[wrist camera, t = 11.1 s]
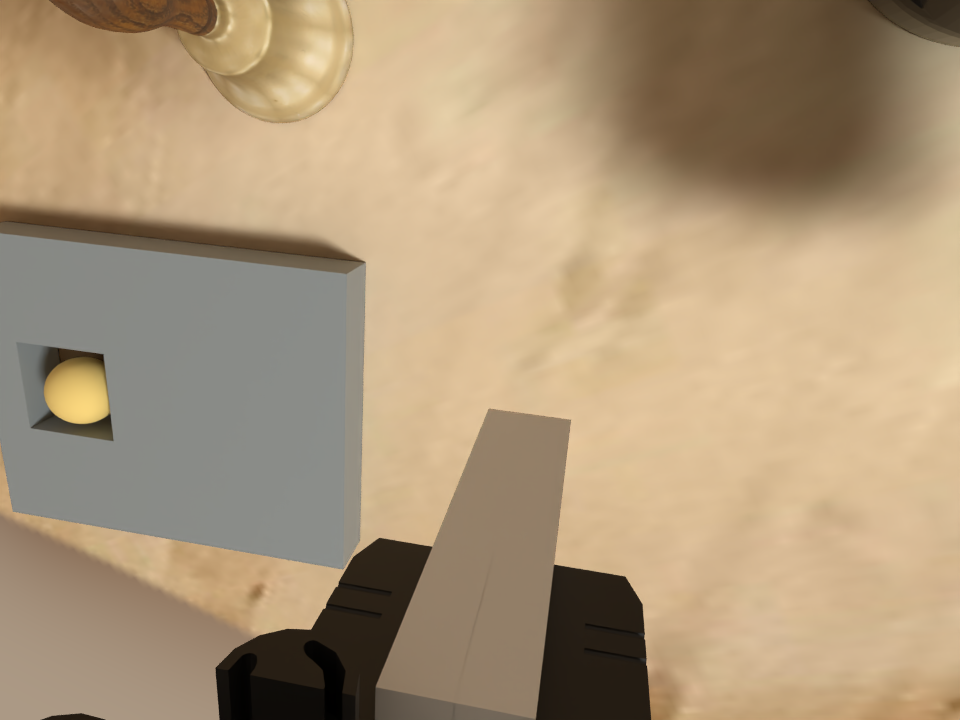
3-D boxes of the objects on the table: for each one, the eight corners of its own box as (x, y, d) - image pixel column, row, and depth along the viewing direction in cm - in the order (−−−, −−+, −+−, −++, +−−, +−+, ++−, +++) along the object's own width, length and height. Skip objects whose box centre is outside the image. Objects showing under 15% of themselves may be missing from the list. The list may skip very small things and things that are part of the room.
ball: (123, 346, 42) (49, 348, 41) (110, 370, 39) (29, 372, 38) (129, 405, 44) (58, 408, 42) (118, 433, 40) (40, 437, 39)
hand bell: (295, -97, 32) (31, -288, 17) (384, 68, 34) (217, 26, 19) (167, 3, 34) (-160, -88, 20) (257, 152, 36) (19, 173, 21)
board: (6, 221, 40) (-39, 228, 37) (365, 262, 37) (346, 273, 34) (48, 488, 46) (12, 511, 43) (359, 540, 43) (343, 569, 41)
